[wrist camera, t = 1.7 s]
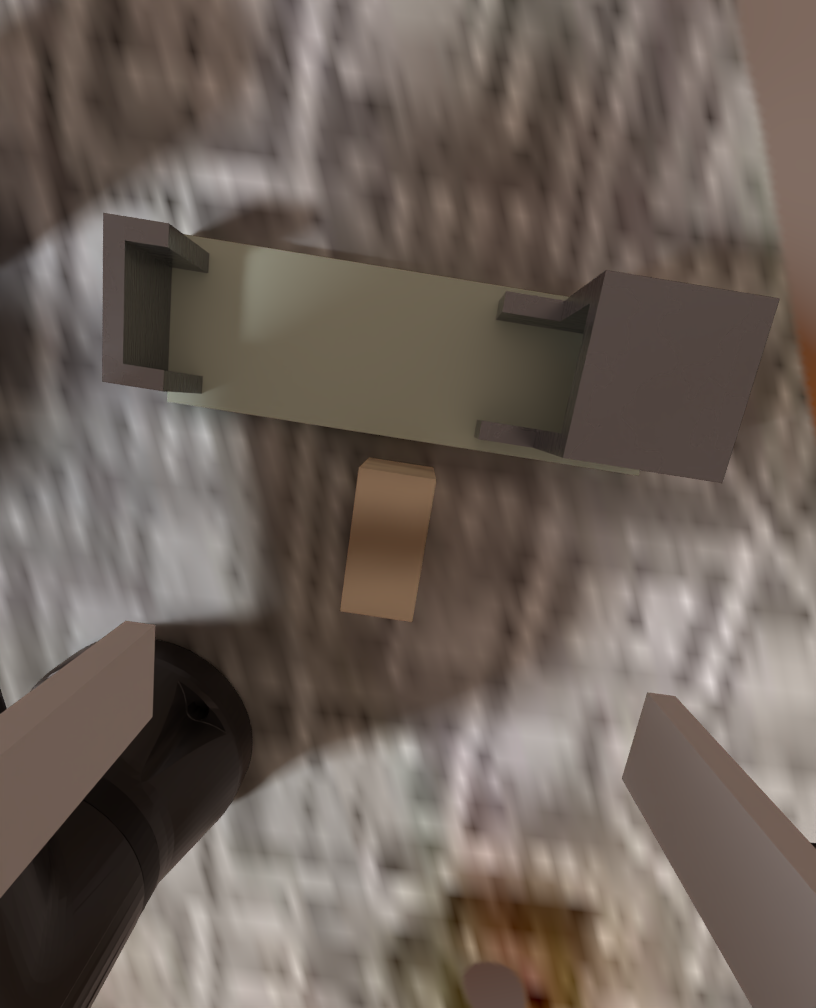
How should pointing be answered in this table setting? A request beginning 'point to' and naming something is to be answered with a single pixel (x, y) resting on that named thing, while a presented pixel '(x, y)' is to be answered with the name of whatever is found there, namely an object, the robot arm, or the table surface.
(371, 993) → the table surface
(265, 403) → the board
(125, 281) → the cap
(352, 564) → the brown block
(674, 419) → the cap
